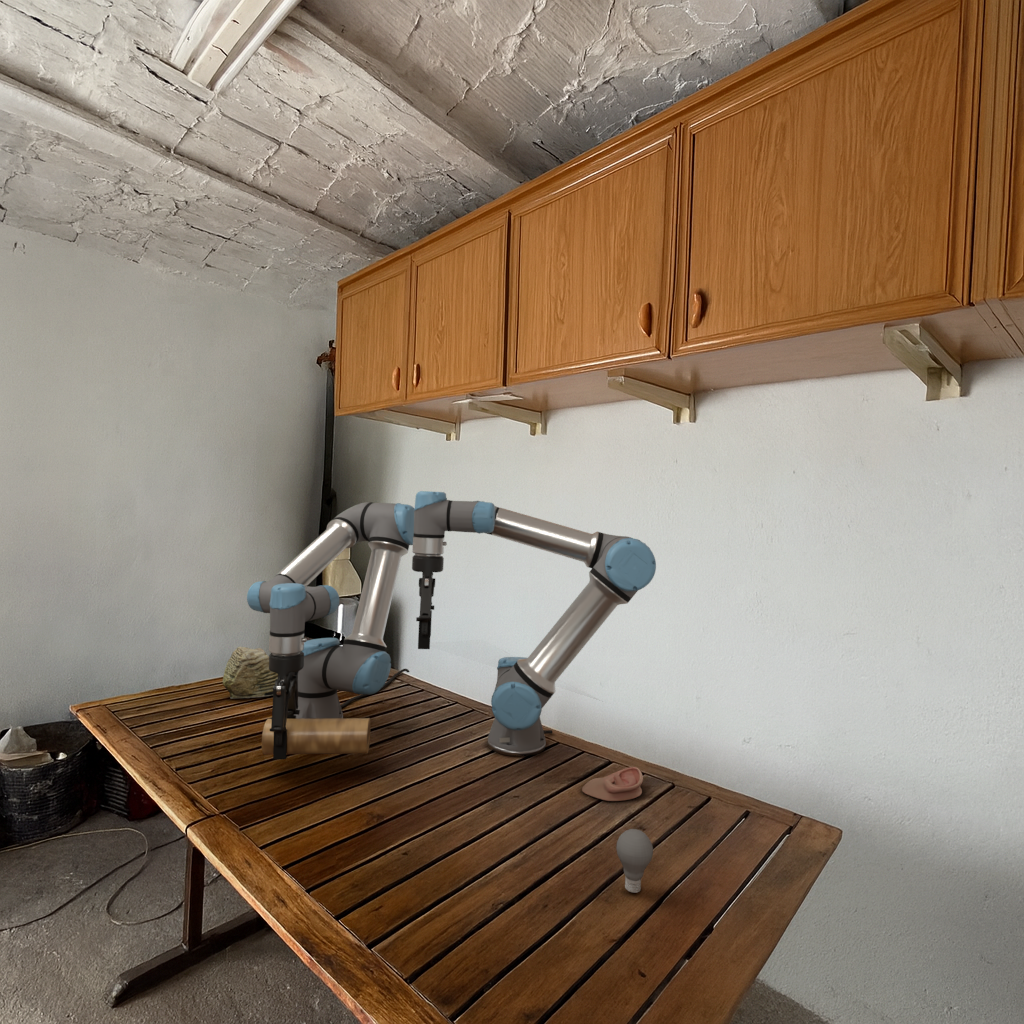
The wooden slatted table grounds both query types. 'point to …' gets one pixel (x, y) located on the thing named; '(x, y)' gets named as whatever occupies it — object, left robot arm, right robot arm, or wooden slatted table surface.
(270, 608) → the left robot arm
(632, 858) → the light bulb
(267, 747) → the tan wooden cylinder
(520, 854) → the wooden slatted table surface
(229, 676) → the fossil
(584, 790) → the anatomical model
